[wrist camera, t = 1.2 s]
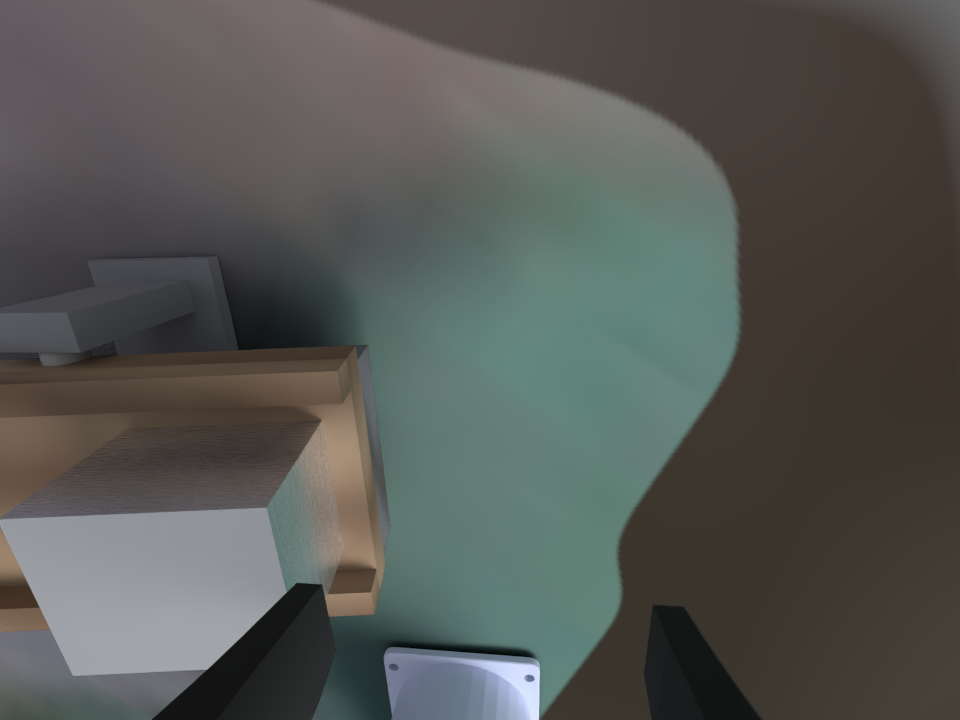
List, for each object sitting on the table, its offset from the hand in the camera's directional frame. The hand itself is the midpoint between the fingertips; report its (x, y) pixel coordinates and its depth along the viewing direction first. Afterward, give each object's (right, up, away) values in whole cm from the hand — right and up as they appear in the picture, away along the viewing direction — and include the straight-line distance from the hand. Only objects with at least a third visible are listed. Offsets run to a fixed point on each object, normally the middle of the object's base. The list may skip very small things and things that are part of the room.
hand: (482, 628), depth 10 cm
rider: (-8, +2, +5) cm, 9 cm away
